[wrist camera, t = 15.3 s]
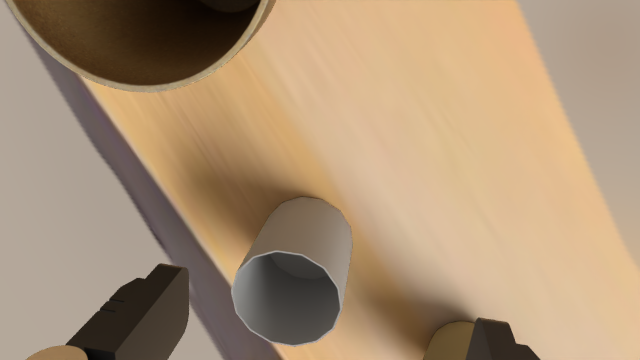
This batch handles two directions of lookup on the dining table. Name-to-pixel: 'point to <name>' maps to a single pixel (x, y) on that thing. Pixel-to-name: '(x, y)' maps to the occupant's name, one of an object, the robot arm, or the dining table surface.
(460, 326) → the squeeze bottle
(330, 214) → the cup
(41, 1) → the plant pot
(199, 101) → the dining table surface
